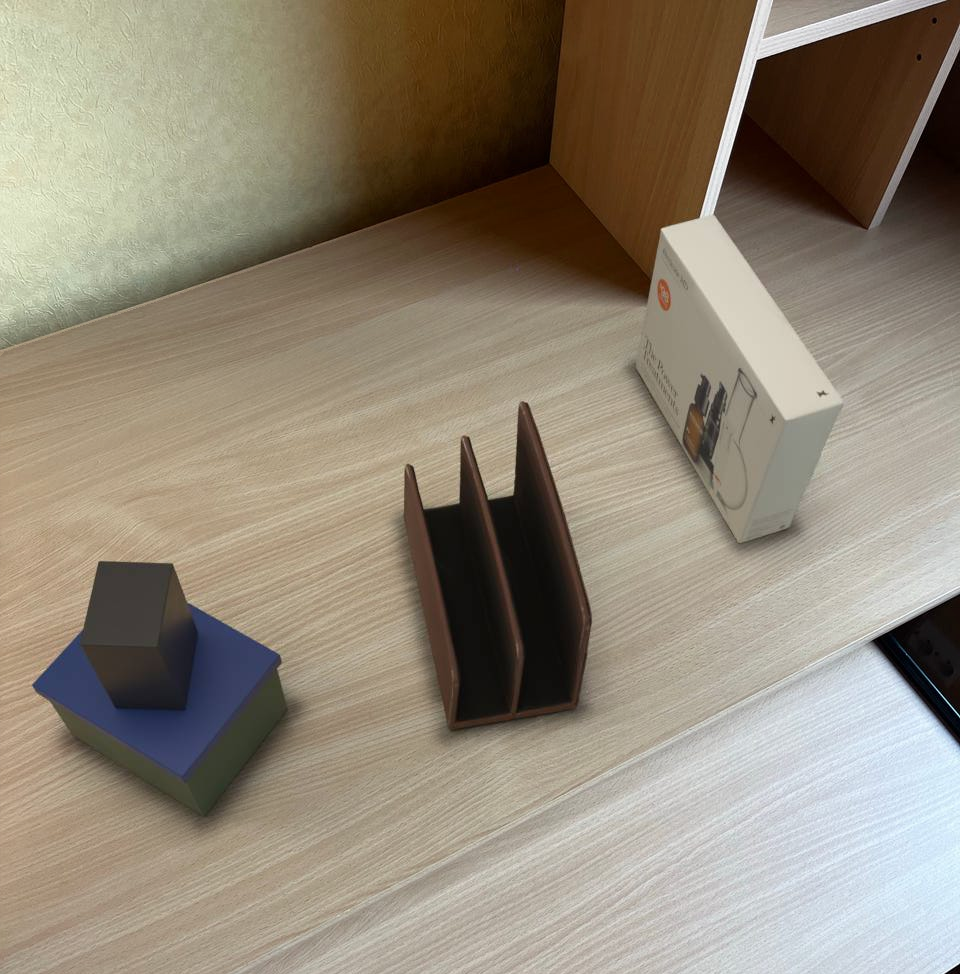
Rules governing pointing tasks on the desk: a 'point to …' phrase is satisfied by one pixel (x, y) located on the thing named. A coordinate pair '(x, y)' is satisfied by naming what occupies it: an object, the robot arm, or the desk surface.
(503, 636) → the letter holder
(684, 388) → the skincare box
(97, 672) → the case
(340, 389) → the desk surface
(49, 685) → the container
